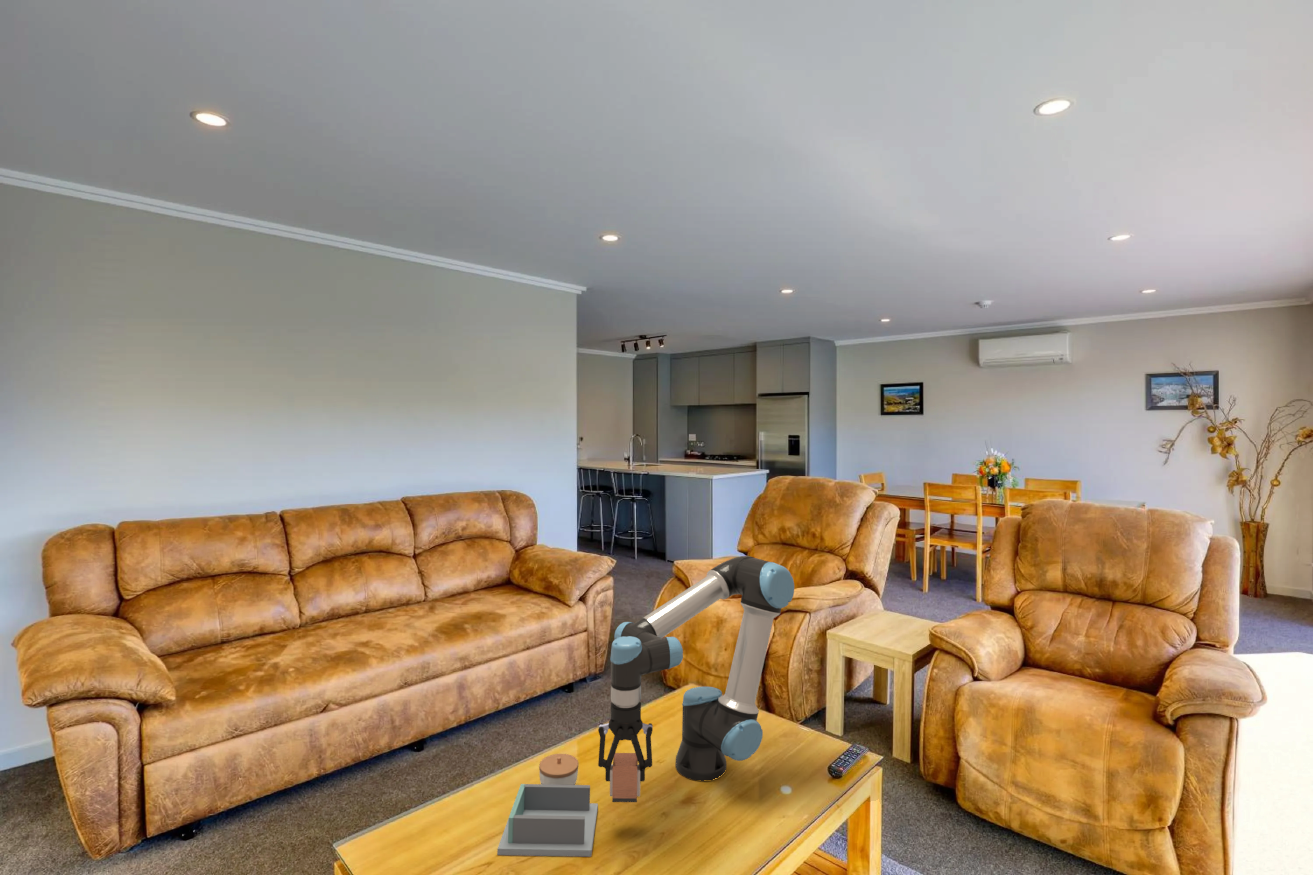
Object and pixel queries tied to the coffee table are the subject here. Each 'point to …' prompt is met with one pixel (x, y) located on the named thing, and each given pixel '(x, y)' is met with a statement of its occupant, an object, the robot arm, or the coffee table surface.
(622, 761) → the upright terracotta block
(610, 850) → the coffee table surface
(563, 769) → the lidded jar
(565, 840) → the dock
